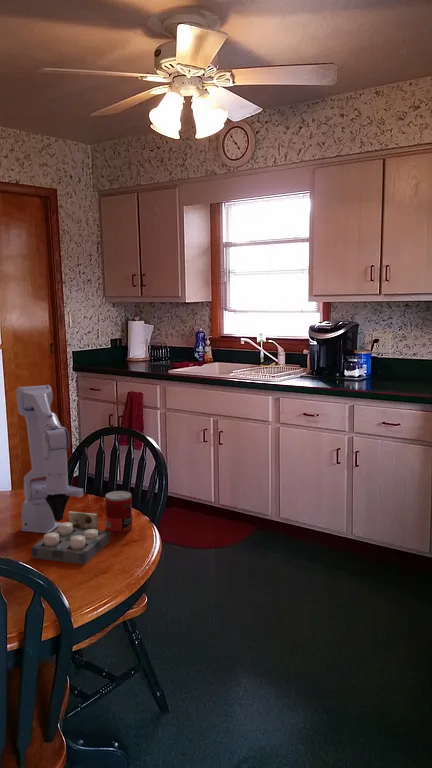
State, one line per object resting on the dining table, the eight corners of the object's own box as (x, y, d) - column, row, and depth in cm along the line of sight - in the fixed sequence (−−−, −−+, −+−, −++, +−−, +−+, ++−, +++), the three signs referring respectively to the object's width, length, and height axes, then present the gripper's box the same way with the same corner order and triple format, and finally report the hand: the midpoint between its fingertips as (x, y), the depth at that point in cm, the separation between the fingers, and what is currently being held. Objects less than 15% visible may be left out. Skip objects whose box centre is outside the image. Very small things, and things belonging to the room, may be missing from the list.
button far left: (56, 536, 176) (55, 526, 176) (62, 530, 180) (62, 521, 180) (68, 537, 175) (68, 528, 175) (75, 532, 179) (74, 523, 179)
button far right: (81, 543, 175) (81, 533, 174) (88, 537, 178) (87, 528, 178) (94, 544, 174) (94, 535, 173) (100, 539, 177) (100, 529, 177)
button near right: (67, 550, 167) (67, 540, 166) (74, 544, 170) (74, 534, 170) (81, 551, 166) (80, 541, 165) (88, 545, 169) (87, 536, 169)
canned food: (127, 535, 183) (126, 499, 182) (102, 533, 185) (101, 498, 183) (135, 525, 191) (135, 491, 189) (111, 523, 192) (110, 489, 191)
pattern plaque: (68, 533, 185) (68, 512, 184) (70, 531, 186) (69, 511, 185) (96, 536, 183) (95, 515, 182) (97, 534, 184) (97, 513, 183)
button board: (31, 558, 168) (31, 547, 167) (60, 535, 183) (60, 526, 182) (85, 564, 164) (84, 553, 163) (110, 540, 179) (109, 531, 178)
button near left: (41, 547, 169) (41, 537, 168) (48, 541, 172) (48, 532, 172) (54, 548, 168) (54, 538, 167) (61, 542, 171) (61, 533, 171)
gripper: (25, 474, 166) (27, 522, 168) (74, 478, 163) (76, 527, 165) (38, 467, 173) (40, 513, 175) (86, 470, 169) (87, 517, 171)
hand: (58, 519), depth 170 cm, fingers closed
